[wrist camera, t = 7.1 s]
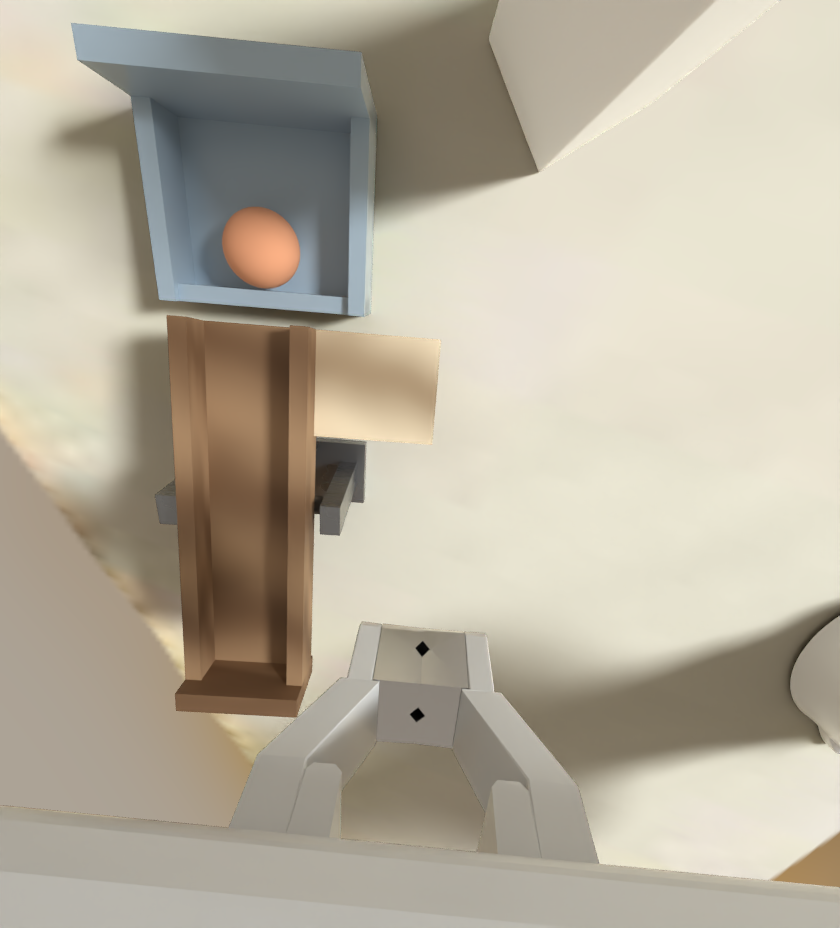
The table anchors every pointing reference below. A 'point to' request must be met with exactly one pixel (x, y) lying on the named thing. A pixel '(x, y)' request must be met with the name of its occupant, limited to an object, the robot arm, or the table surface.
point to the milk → (602, 60)
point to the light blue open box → (248, 159)
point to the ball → (261, 247)
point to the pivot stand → (333, 480)
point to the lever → (269, 488)
